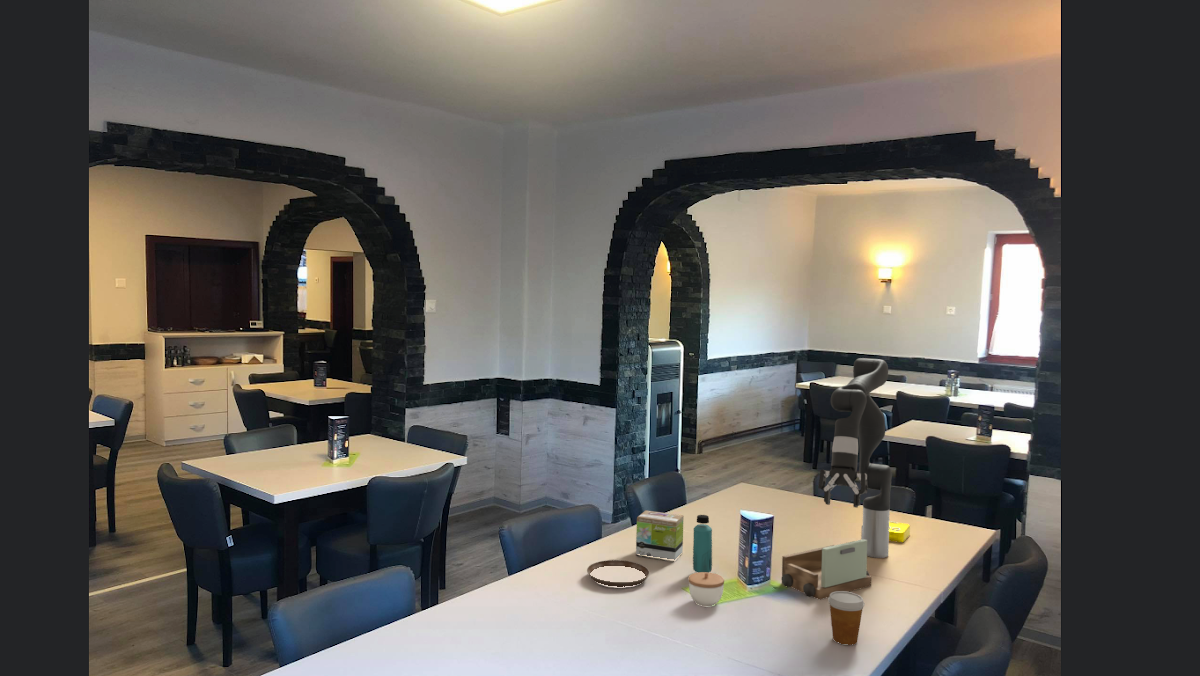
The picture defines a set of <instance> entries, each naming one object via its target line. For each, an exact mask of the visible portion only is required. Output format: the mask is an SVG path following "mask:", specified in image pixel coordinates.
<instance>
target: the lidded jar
mask: <svg viewBox="0 0 1200 676" xmlns="http://www.w3.org/2000/svg"><path fill="white" fill-rule="evenodd" d="M724 583H725V579H724V577H723V576H722V575H720V574H718V573H713V572H694V573H692V574H690V575H688V591H689V594H690V597H691V599H692V600H693V601H694V602H695V604H696V603H697V604H699V605H702V606H712V605H714V604H716V605H717V603H719V602H720V601H721V599H722V596H723V594H724ZM697 604H696V605H697ZM699 605H698V606H699ZM702 606H701V607H702ZM712 607H713V606H712Z"/></svg>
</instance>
